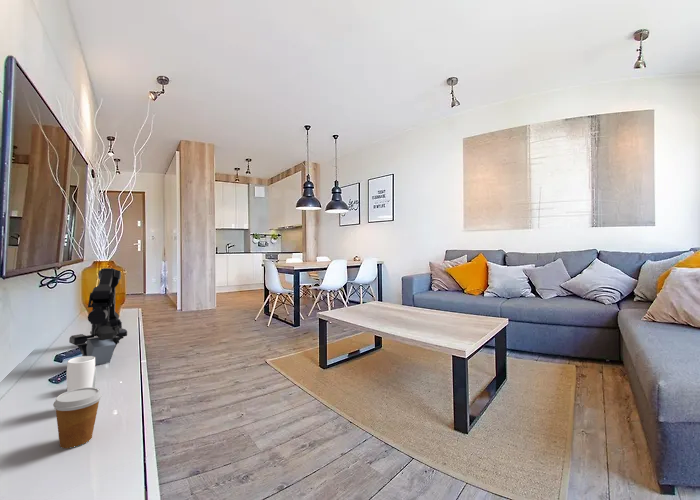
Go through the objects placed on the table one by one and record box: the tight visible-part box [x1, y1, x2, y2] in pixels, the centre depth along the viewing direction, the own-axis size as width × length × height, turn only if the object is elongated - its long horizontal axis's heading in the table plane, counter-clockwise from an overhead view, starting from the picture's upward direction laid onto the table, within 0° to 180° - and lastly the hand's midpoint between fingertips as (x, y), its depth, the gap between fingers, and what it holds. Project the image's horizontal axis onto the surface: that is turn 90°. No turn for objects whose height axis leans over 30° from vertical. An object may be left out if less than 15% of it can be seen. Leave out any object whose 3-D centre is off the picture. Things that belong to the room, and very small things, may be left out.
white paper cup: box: [66, 356, 96, 392], centre depth 98 cm, size 7×7×15 cm
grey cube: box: [81, 338, 117, 366], centre depth 136 cm, size 8×8×9 cm
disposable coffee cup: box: [52, 387, 103, 449], centre depth 82 cm, size 10×10×12 cm
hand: (98, 356), depth 135 cm, fingers open, 9 cm apart
